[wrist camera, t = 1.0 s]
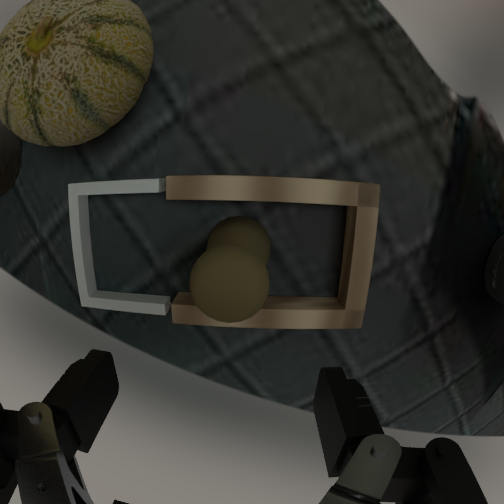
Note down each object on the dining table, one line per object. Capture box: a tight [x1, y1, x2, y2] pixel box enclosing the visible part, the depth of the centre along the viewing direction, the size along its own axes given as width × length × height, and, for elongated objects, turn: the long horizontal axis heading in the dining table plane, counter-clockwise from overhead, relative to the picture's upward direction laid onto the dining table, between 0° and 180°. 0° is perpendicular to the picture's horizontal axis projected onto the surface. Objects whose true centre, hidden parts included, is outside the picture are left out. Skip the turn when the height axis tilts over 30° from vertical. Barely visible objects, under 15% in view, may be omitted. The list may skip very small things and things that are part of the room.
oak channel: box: [166, 175, 380, 329], centre depth 27 cm, size 18×14×3 cm
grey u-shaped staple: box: [68, 178, 171, 315], centre depth 28 cm, size 10×13×2 cm
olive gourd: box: [189, 216, 271, 323], centre depth 23 cm, size 6×6×11 cm
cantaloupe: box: [0, 0, 154, 147], centre depth 17 cm, size 15×15×15 cm
